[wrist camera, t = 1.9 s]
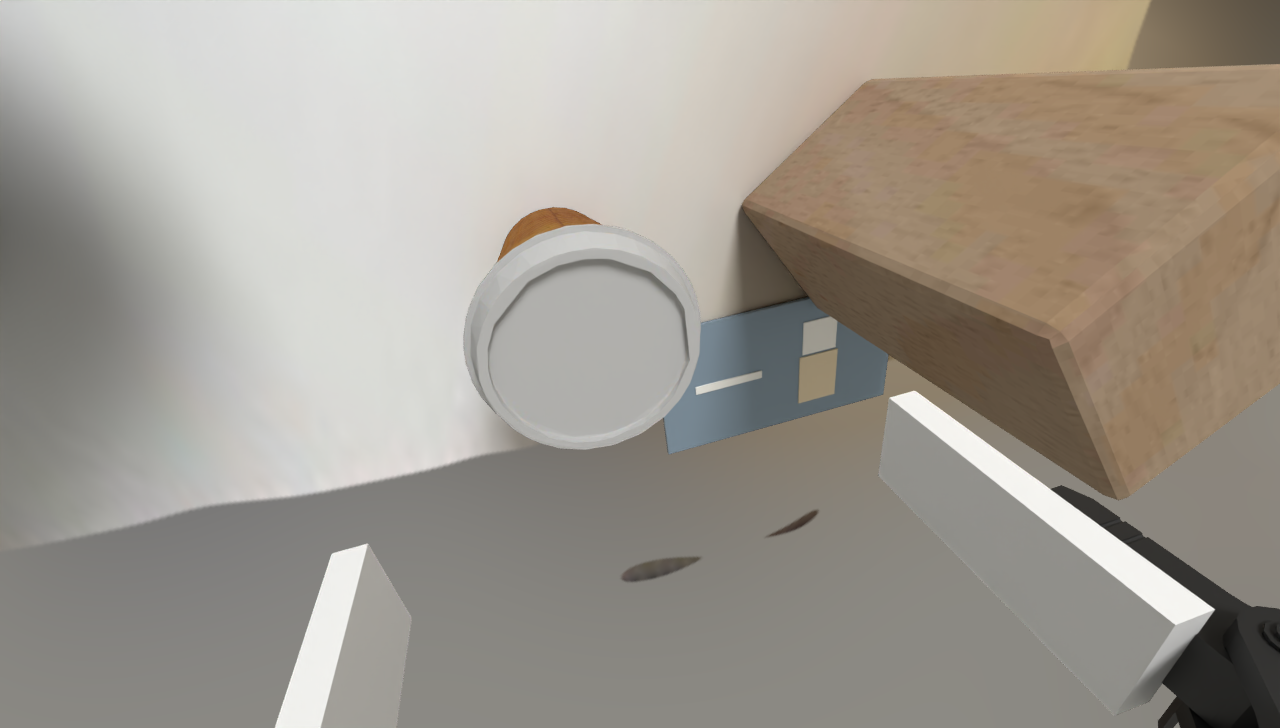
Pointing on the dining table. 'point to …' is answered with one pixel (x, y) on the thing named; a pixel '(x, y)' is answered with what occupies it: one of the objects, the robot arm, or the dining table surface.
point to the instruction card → (772, 373)
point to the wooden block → (1054, 249)
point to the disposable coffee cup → (581, 332)
